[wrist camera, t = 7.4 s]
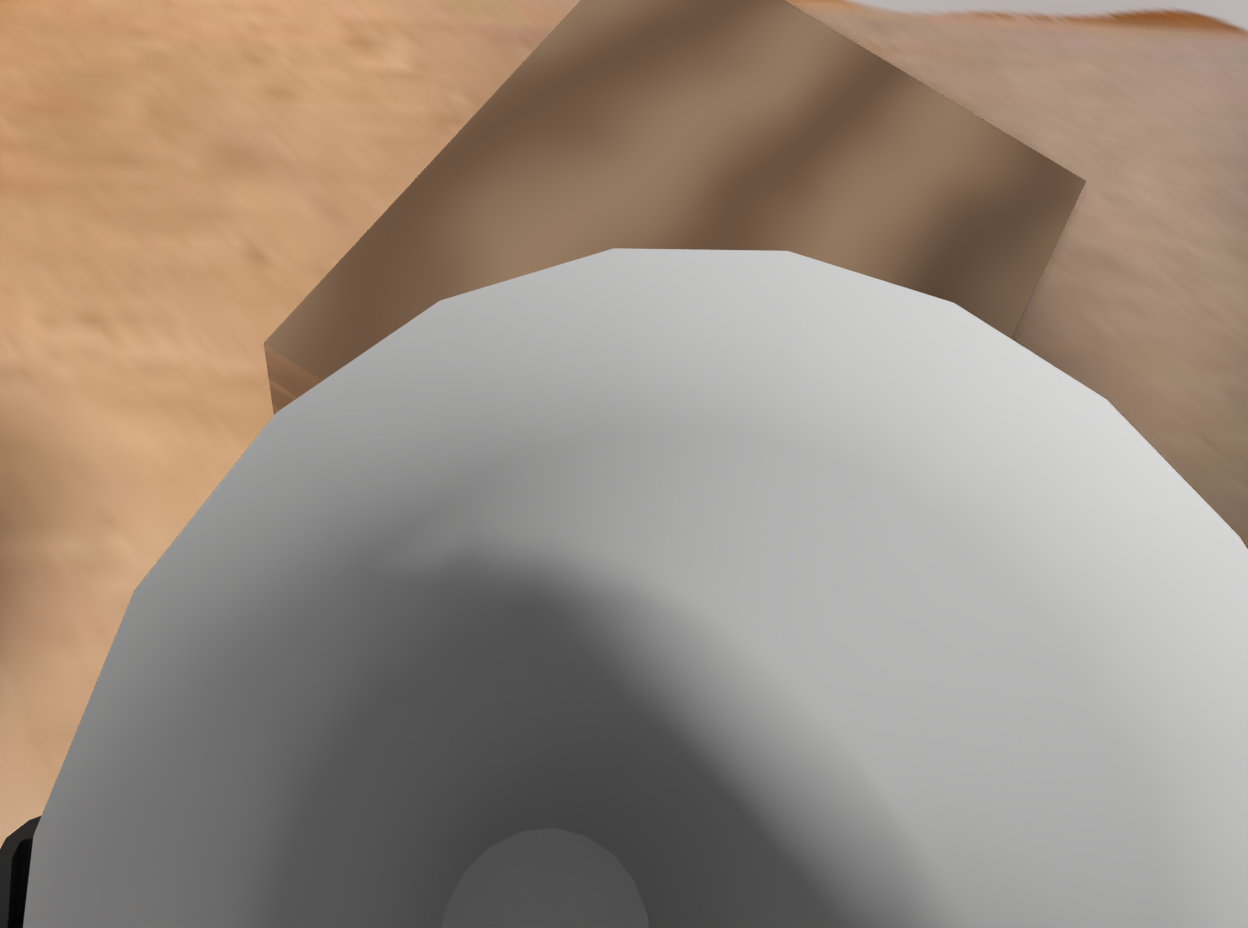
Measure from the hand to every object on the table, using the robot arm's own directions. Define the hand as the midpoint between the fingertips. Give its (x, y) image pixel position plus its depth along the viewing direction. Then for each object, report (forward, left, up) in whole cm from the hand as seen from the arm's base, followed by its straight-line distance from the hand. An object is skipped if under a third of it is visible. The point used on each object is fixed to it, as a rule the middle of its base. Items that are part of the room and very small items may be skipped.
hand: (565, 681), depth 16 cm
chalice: (-1, +3, -8) cm, 8 cm away
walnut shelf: (+2, -18, -17) cm, 25 cm away
